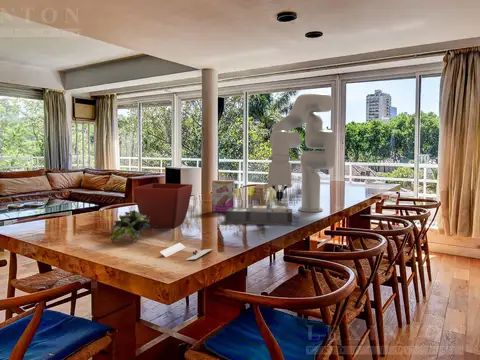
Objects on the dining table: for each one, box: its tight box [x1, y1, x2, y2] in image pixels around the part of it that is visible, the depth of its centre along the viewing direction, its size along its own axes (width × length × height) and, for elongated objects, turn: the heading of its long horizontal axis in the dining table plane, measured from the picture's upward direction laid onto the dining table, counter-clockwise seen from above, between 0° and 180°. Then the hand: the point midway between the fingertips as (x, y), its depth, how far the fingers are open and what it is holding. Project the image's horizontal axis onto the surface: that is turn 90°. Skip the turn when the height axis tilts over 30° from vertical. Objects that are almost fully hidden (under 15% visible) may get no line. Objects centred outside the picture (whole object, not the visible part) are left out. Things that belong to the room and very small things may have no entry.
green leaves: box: [109, 209, 151, 244], centre depth 127 cm, size 13×12×14 cm
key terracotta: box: [251, 205, 268, 212], centre depth 163 cm, size 6×6×3 cm
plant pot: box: [133, 182, 193, 229], centre depth 153 cm, size 19×19×17 cm
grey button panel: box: [224, 207, 293, 226], centre depth 163 cm, size 14×29×5 cm, turn 81°
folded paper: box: [159, 242, 213, 261], centre depth 111 cm, size 12×12×2 cm
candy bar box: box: [211, 179, 235, 213], centre depth 187 cm, size 11×5×16 cm, turn 84°
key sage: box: [272, 205, 288, 212], centre depth 161 cm, size 6×6×3 cm
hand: (279, 200), depth 161 cm, fingers closed
